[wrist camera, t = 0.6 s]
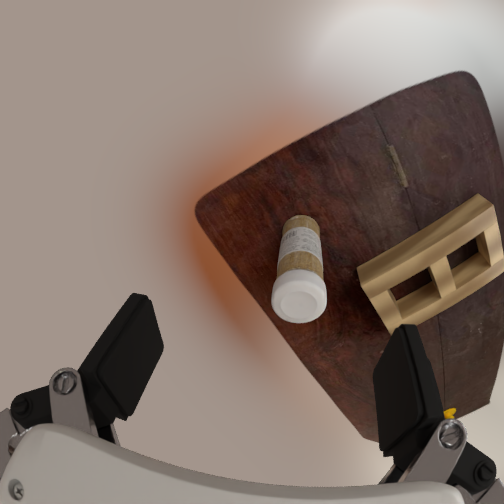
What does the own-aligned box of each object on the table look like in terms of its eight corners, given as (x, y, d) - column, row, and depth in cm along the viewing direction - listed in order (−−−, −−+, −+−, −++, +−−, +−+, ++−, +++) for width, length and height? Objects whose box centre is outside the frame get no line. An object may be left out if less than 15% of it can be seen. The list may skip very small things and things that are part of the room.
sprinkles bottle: (293, 252, 35) (286, 331, 24) (275, 223, 34) (259, 295, 22) (326, 238, 33) (335, 315, 22) (309, 206, 32) (312, 274, 20)
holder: (356, 267, 35) (360, 286, 31) (477, 192, 26) (493, 204, 23) (387, 318, 38) (392, 337, 35) (492, 255, 30) (505, 270, 26)
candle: (447, 417, 54) (454, 462, 40) (435, 417, 54) (443, 464, 40) (459, 407, 51) (468, 454, 38) (447, 407, 51) (457, 456, 38)
